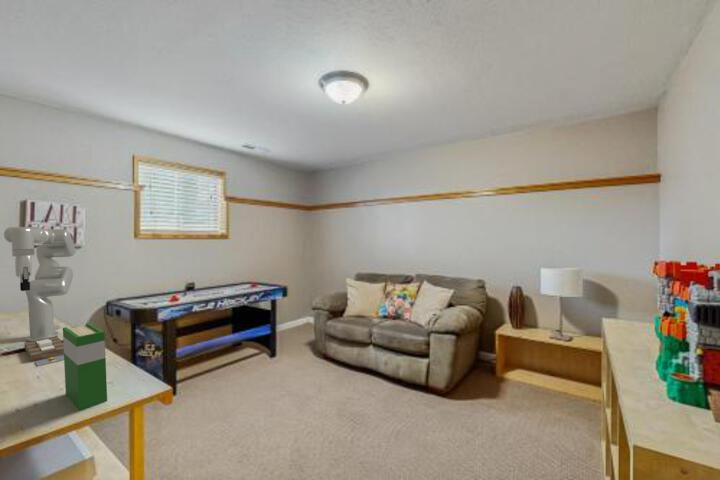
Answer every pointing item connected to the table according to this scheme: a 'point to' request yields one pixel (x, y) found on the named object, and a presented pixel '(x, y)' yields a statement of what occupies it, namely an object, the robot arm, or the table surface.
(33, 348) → the button board
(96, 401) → the hardback book
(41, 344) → the button middle
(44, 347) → the button
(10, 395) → the table surface
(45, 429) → the table surface
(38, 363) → the card
